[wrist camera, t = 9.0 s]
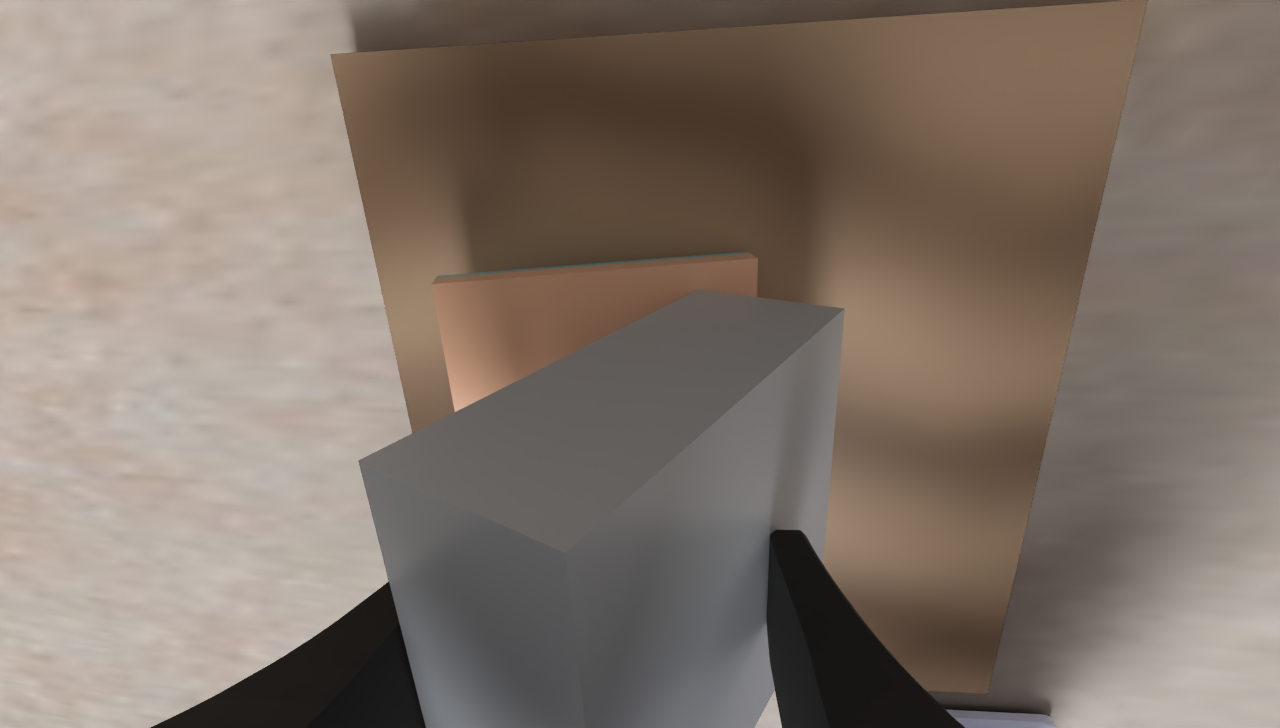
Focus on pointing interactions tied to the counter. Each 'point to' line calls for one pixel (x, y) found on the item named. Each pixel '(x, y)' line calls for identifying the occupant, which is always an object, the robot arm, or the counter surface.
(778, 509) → the grey rectangular block
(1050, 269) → the board
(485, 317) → the tile
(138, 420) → the counter surface
